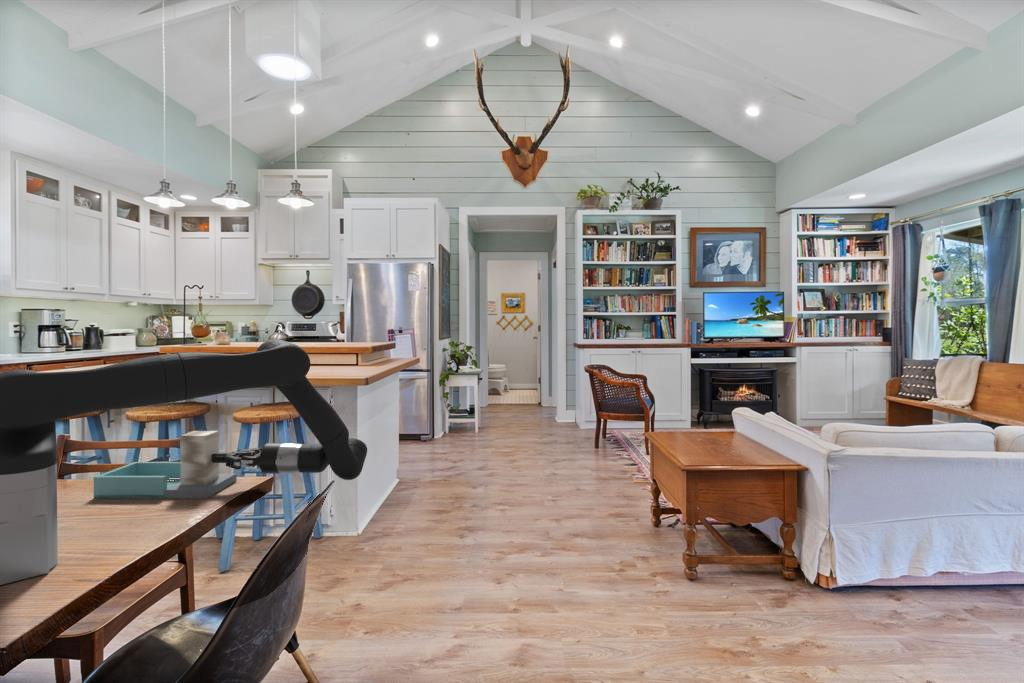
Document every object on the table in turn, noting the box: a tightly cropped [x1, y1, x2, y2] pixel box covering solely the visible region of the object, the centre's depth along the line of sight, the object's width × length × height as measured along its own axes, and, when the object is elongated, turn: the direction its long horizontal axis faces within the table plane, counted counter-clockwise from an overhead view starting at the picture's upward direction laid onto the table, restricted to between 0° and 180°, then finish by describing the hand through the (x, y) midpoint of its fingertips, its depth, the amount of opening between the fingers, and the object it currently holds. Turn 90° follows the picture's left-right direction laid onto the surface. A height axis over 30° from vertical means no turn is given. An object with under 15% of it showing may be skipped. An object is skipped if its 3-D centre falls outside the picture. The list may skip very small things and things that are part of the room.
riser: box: [163, 472, 238, 499], centre depth 129 cm, size 10×14×2 cm
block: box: [179, 430, 220, 485], centre depth 129 cm, size 6×6×12 cm
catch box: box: [93, 461, 180, 499], centre depth 128 cm, size 16×14×5 cm
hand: (213, 457), depth 129 cm, fingers closed
